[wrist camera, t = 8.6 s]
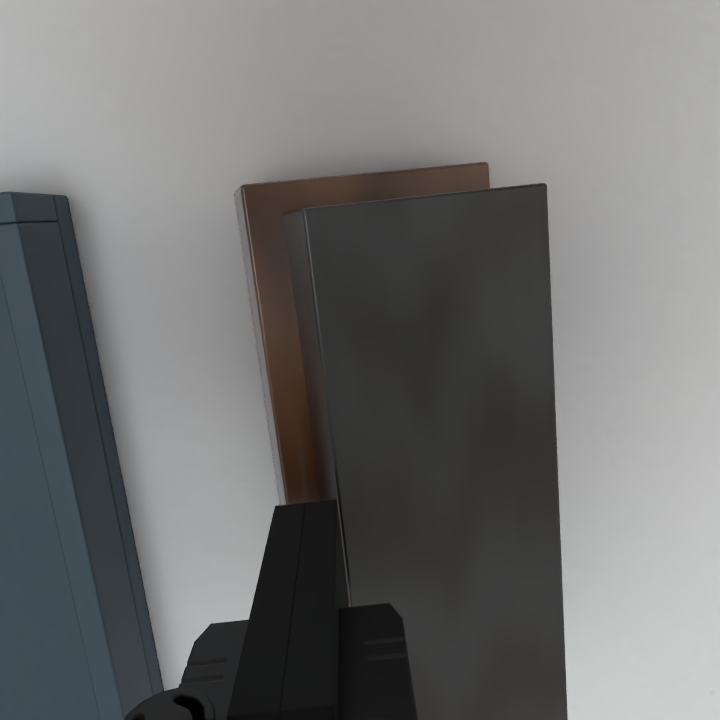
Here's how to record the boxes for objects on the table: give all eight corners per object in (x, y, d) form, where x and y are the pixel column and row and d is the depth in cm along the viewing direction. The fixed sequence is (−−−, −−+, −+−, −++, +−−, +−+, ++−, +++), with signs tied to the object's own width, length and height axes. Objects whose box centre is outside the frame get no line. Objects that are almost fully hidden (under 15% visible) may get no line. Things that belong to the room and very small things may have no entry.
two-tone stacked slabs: (454, 169, 20) (233, 190, 19) (546, 147, 15) (250, 174, 13) (488, 656, 24) (309, 709, 23) (570, 773, 19) (345, 851, 17)
